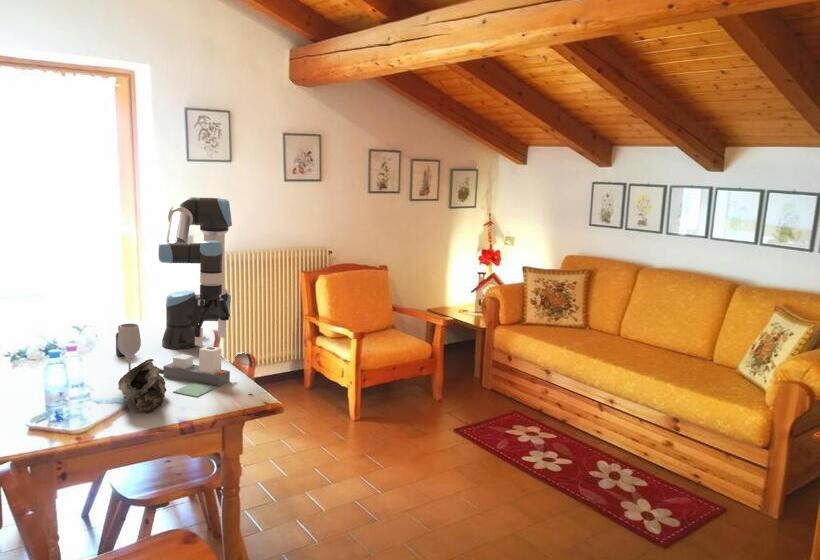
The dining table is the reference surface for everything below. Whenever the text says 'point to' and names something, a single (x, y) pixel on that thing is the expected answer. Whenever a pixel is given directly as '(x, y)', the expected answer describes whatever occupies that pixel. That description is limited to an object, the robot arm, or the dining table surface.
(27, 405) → the dining table surface
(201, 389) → the felt mat
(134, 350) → the wineglass
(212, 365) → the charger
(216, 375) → the power strip
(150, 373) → the hollow geode rock
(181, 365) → the block
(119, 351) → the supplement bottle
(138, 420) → the dining table surface
